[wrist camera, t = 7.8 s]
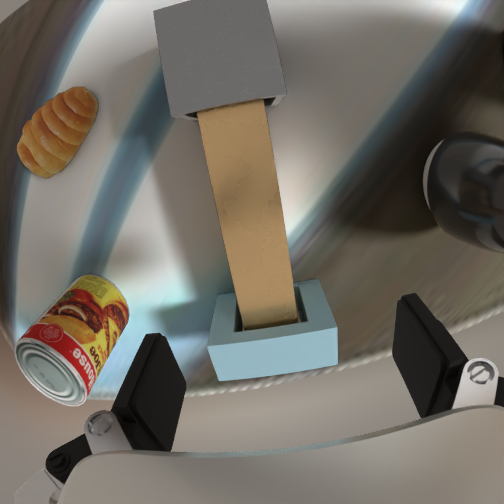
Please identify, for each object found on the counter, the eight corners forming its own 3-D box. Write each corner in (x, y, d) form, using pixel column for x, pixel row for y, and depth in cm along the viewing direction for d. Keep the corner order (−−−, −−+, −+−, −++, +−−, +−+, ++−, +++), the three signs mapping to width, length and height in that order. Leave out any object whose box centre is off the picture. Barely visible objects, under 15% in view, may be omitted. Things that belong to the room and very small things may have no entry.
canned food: (121, 343, 33) (83, 417, 21) (67, 313, 31) (17, 377, 20) (137, 294, 30) (90, 372, 19) (76, 262, 29) (11, 323, 17)
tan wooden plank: (260, 82, 21) (262, 70, 17) (296, 306, 29) (303, 337, 24) (199, 94, 22) (186, 85, 17) (245, 313, 29) (244, 346, 25)
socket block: (318, 278, 29) (337, 327, 22) (320, 312, 30) (337, 364, 23) (217, 294, 30) (206, 346, 22) (226, 326, 31) (219, 381, 24)
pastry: (80, 72, 21) (59, 67, 18) (115, 118, 23) (95, 117, 20) (27, 138, 23) (4, 142, 20) (56, 182, 26) (35, 191, 22)
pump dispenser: (478, 126, 22) (590, 145, 8) (480, 218, 26) (575, 277, 12) (402, 126, 23) (524, 138, 9) (409, 232, 27) (506, 314, 13)
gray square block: (260, 22, 20) (262, -13, 13) (277, 105, 23) (286, 94, 16) (178, 39, 20) (153, 11, 14) (193, 121, 23) (171, 117, 17)
